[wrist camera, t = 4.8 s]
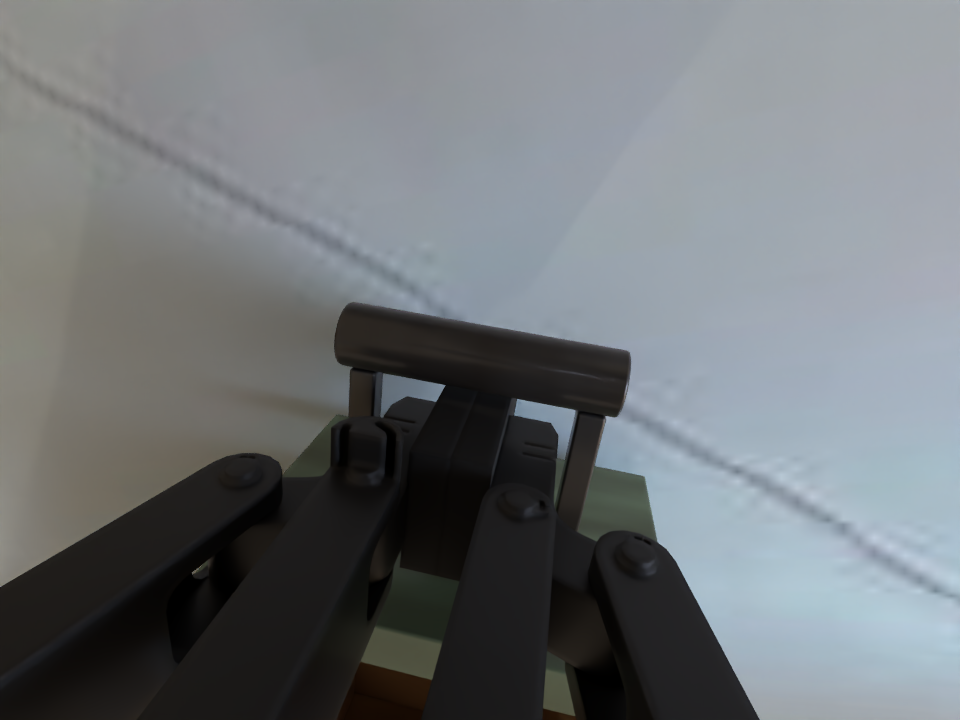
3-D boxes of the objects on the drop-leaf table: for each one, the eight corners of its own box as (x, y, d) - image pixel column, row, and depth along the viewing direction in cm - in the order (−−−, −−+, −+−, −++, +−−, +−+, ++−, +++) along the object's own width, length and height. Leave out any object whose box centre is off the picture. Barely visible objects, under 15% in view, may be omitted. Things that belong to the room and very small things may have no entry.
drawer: (340, 246, 16) (155, 326, 9) (696, 305, 15) (799, 450, 8) (331, 672, 23) (225, 896, 16) (568, 733, 22) (562, 1002, 15)
